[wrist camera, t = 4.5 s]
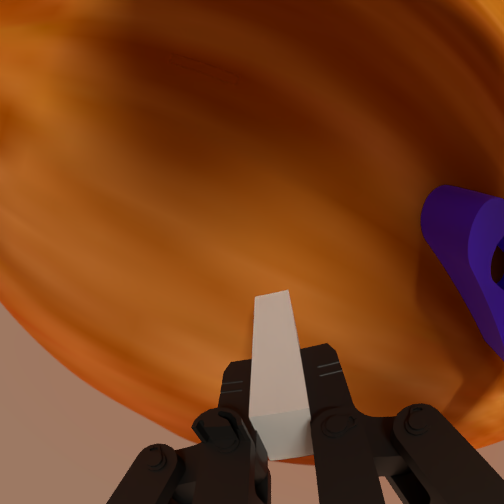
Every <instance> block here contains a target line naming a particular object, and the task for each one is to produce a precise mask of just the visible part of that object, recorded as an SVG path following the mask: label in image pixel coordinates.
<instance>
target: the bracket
mask: <svg viewBox="0 0 504 504" xmlns="http://www.w3.org/2000/svg"><path fill="white" fill-rule="evenodd" d="M421 229H422V233H423V236H424V238H425V240H426V242H427V243H428V244H429V246H430V247H431V249H432V250H433V252H434V253H435V254H436V256H437V257H438V259H439V260H440V262H441V263H442V265H443V267H444V268H445V270H446V271H447V273H448V274H449V276H450V278H451V279H452V281H453V282H454V284H455V286H456V287H457V289H458V291H459V293H460V294H461V296H462V298H463V300H464V301H465V303H466V305H467V307H468V309H469V310H470V312H471V314H472V316H473V318H474V320H475V322H476V324H477V326H478V328H479V330H480V332H481V334H482V336H483V338H484V340H485V341H486V342H487V344H488V345H489V346H490V347H491V348H492V349H493V350H494V351H495V352H496V353H497V354H498V355H499V357H500V358H501V359H502V360H503V361H504V275H503V277H502V278H501V280H500V281H499V282H498V283H497V284H496V283H495V282H494V281H493V280H492V277H491V261H492V257H493V254H494V251H495V249H496V246H498V247H499V248H500V249H501V250H502V251H503V252H504V199H502V198H499V197H495V196H492V195H488V194H484V193H480V192H476V191H472V190H468V189H464V188H460V187H455V186H451V185H442V186H439V187H437V188H435V189H434V190H433V191H432V192H431V193H430V194H429V196H428V197H427V199H426V201H425V203H424V205H423V208H422V213H421Z"/></svg>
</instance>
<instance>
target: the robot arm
mask: <svg viewBox="0 0 504 504" xmlns="http://www.w3.org/2000/svg"><path fill="white" fill-rule="evenodd" d="M191 428H192V429H193V430H194V432H195V433H196V435H197V436H198V437H199V439H200V440H201V441H202V442H201V443H199V444H197V445H194V446H191V447H187V448H183V449H179V450H174V449H173V448H172V447H169V446H168V445H166V444H154V445H150V446H148V447H146V448H144V449H143V450H142V451H141V452H140V453H139V455H138V456H137V457H136V459H135V461H134V462H133V464H132V465H131V467H130V468H129V470H128V471H127V473H126V474H125V476H124V477H123V479H122V481H121V482H120V484H119V485H118V487H117V488H116V490H115V491H114V493H113V494H112V496H111V497H110V499H109V500H108V502H107V503H106V504H271V475H270V471H269V469H268V458H269V459H270V461H273V460H282V459H289V458H296V457H302V456H308V455H314V460H315V468H316V476H317V485H318V494H319V503H320V504H385V501H384V497H383V493H382V489H381V485H380V481H379V477H378V476H385V477H386V479H387V480H388V482H389V483H390V485H391V486H392V488H393V489H394V491H395V492H396V493H397V495H398V497H399V498H400V500H401V501H402V503H403V504H504V480H503V479H502V478H501V477H500V476H499V474H497V472H496V471H495V470H494V469H493V468H492V467H491V466H490V465H489V464H488V462H487V461H486V460H485V459H484V458H483V457H482V456H481V455H480V454H479V453H478V452H477V451H476V450H475V449H474V448H473V446H472V445H471V444H470V443H469V442H468V441H467V440H466V439H465V438H464V437H463V436H462V435H461V434H460V433H459V432H458V431H457V430H456V429H455V428H454V427H453V426H452V425H451V423H450V422H449V421H448V420H447V419H446V418H445V417H444V416H443V415H442V414H441V413H440V412H439V411H438V410H437V409H435V408H434V407H432V406H431V405H427V404H422V403H421V404H413V405H410V406H408V407H406V408H404V409H403V410H402V411H400V412H399V413H398V414H397V416H394V417H370V416H367V415H364V414H363V413H361V412H359V411H358V410H357V409H356V408H355V406H354V404H353V402H352V399H351V395H350V392H349V389H348V386H347V383H346V380H345V377H344V374H343V372H342V368H341V365H340V363H339V359H338V356H337V353H336V351H335V350H334V349H333V348H332V347H331V346H330V345H329V344H327V343H325V344H321V345H317V346H312V347H308V348H303V349H300V345H299V339H298V334H297V329H296V325H295V320H294V315H293V310H292V305H291V301H290V296H289V291H288V290H285V291H281V292H276V293H271V294H266V295H262V296H257V297H255V308H254V328H253V347H252V359H249V360H242V361H235V362H231V363H230V364H229V365H228V367H227V368H226V370H225V371H224V374H223V380H222V386H221V394H220V398H219V403H218V408H214V409H210V410H208V411H206V412H204V413H202V414H201V415H200V416H198V417H197V418H196V419H195V421H194V423H193V425H192V427H191Z"/></svg>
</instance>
